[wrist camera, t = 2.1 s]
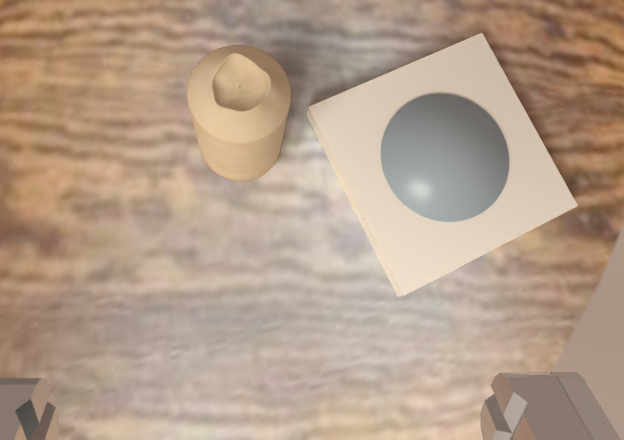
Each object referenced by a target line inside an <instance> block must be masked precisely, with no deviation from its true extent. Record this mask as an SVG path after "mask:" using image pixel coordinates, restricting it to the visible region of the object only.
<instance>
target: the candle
mask: <svg viewBox="0 0 624 440" xmlns="http://www.w3.org/2000/svg"><path fill="white" fill-rule="evenodd" d="M187 100H188V105H189V109H190V113H191V117H192V121H193V125H194V128H195V132H196V136H197V140H198V144H199V148H200V151H201V154H202V156H203V159H204V160H205V162H206V163H207V165H208V166H209V167H210V168H211V169H212V170H213V171H214V172H215V173H217V174H218V175H220V176H222V177H224V178H226V179H229V180H233V181H248V180H252V179H255V178H258V177H260V176H262V175H263V174H265V173H266V172H267V171H268V170H269V169H270V168H271V167H272V166H273V165H274V163H275V162H276V160H277V158H278V156H279V153H280V150H281V146H282V141H283V136H284V132H285V127H286V123H287V118H288V114H289V109H290V105H291V87H290V83H289V80H288V77H287V75H286V73H285V71H284V70H283V68H282V67H281V66H280V64H279V63H278V62H277V61H276V60H275V59H274V58H273V57H271V56H270V55H268V54H267V53H265V52H263V51H261V50H259V49H256V48H253V47H249V46H243V45H233V46H226V47H222V48H219V49H217V50H214V51H212V52H211V53H209V54H208V55H206V56H205V57H204V58H202V59H201V60H200V61H199V62H198V64H197V65H196V66H195V68H194V69H193V71H192V73H191V75H190V78H189V81H188V86H187Z"/></svg>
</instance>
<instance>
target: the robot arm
mask: <svg viewBox="0 0 624 440" xmlns="http://www.w3.org/2000/svg"><path fill="white" fill-rule="evenodd" d="M491 387H492V389H493V392H494V395H492V396H491V397H489V398H488V399H487V400H485V402H484V405H483V407H482V410H481V431H482V436H483V440H621V439H620V438H619V436H618V435H617V433H616V431H615V429H614V428H613V426H612V424H611V423H610V421H609V420H608V418H607V416H606V415H605V413H604V411H603V410H602V408H601V406H600V405H599V403H598V401H597V400H596V398H595V397H594V395H593V393H592V392H591V390H590V388H589V387H588V385H587V384H586V382H585V380H584V379H583V377H582V376H581V375H579V374H578V373H577V372H551V373H548V372H519V373H499V374H498V375H497V376H495V378H494V380H493V382H492V384H491ZM50 393H51V389H50V386H49V384H48V381H47V379H42V378H0V440H57V438H58V431H59V423H58V414H57V410H56V407H54V406H53V405H52V404H50V403H49V402H47V401H48V398H49V395H50Z"/></svg>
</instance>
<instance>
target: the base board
mask: <svg viewBox="0 0 624 440" xmlns="http://www.w3.org/2000/svg"><path fill="white" fill-rule="evenodd" d="M306 116H307V118H308V120H309V122H310V124H311V126H312V128H313V130H314V132H315V134H316V136H317V138H318V140H319V142H320V144H321V146H322V148H323V150H324V152H325V154H326V155H327V157H328V159H329V161H330V163H331V165H332V167H333V169H334V171H335V173H336V175H337V177H338V179H339V181H340V183H341V185H342V187H343V189H344V191H345V193H346V195H347V197H348V199H349V201H350V203H351V205H352V207H353V209H354V211H355V213H356V215H357V217H358V219H359V221H360V223H361V225H362V227H363V229H364V231H365V233H366V235H367V237H368V239H369V241H370V243H371V245H372V247H373V249H374V251H375V253H376V255H377V257H378V259H379V260H380V262H381V264H382V266H383V268H384V270H385V272H386V274H387V276H388V278H389V280H390V282H391V284H392V286H393V288H394V290H395V292H396V294H397V296H404V295H406V294H408V293H410V292H412V291H414V290H416V289H418V288H420V287H422V286H424V285H426V284H428V283H430V282H432V281H433V280H435V279H437V278H439V277H441V276H443V275H445V274H447V273H449V272H451V271H453V270H455V269H457V268H459V267H461V266H462V265H464V264H466V263H468V262H470V261H472V260H474V259H476V258H478V257H480V256H482V255H484V254H486V253H488V252H490V251H491V250H493V249H495V248H497V247H499V246H501V245H503V244H505V243H507V242H509V241H511V240H513V239H515V238H517V237H519V236H520V235H522V234H524V233H526V232H528V231H530V230H532V229H534V228H536V227H538V226H540V225H542V224H544V223H546V222H548V221H549V220H551V219H553V218H555V217H557V216H559V215H561V214H563V213H565V212H567V211H569V210H571V209H573V208H575V207H577V206H578V205H577V204H576V202H575V200H574V198H573V196H572V195H571V193H570V191H569V189H568V187H567V185H566V184H565V182H564V180H563V178H562V176H561V175H560V173H559V171H558V169H557V167H556V166H555V164H554V162H553V160H552V158H551V157H550V155H549V153H548V151H547V149H546V147H545V146H544V144H543V142H542V140H541V138H540V137H539V135H538V133H537V131H536V129H535V128H534V126H533V124H532V122H531V120H530V118H529V117H528V115H527V113H526V111H525V109H524V108H523V106H522V104H521V102H520V100H519V99H518V97H517V95H516V93H515V91H514V90H513V88H512V86H511V84H510V82H509V80H508V79H507V77H506V75H505V73H504V71H503V70H502V68H501V66H500V64H499V62H498V61H497V59H496V57H495V55H494V53H493V51H492V50H491V48H490V46H489V44H488V42H487V41H486V39H485V37H484V35H483V33H480V34H478V35H475V36H473V37H471V38H468V39H466V40H464V41H461V42H459V43H456V44H454V45H452V46H449V47H447V48H445V49H442V50H440V51H438V52H435V53H433V54H431V55H428V56H426V57H424V58H421V59H419V60H417V61H414V62H412V63H410V64H407V65H405V66H403V67H400V68H398V69H396V70H393V71H391V72H389V73H386V74H384V75H382V76H379V77H377V78H375V79H372V80H370V81H368V82H365V83H363V84H361V85H358V86H356V87H354V88H351V89H349V90H347V91H344V92H342V93H340V94H337V95H335V96H333V97H330V98H328V99H326V100H323V101H321V102H318V103H316V104H314V105H311V106H309V107H308V110H307V113H306Z"/></svg>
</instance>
